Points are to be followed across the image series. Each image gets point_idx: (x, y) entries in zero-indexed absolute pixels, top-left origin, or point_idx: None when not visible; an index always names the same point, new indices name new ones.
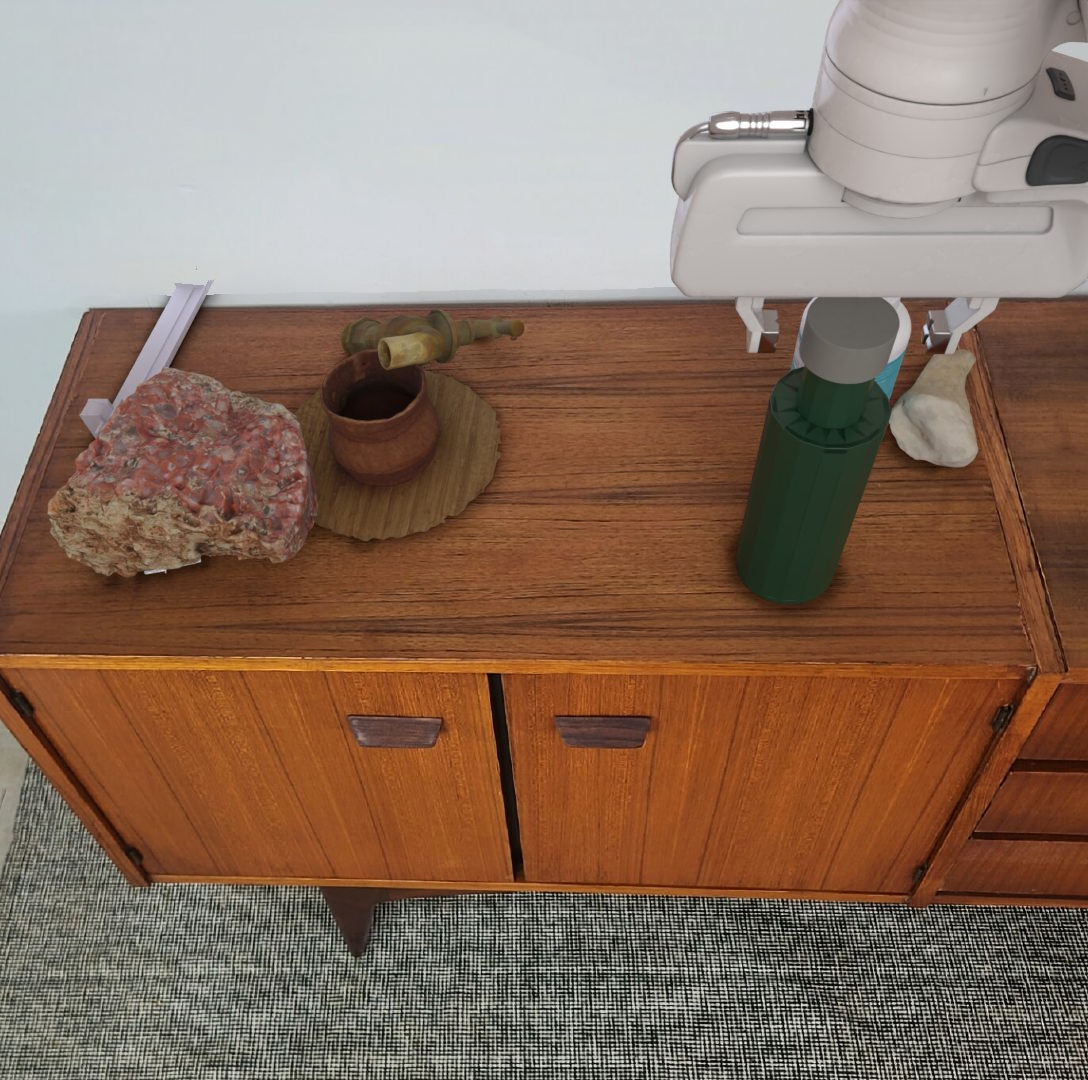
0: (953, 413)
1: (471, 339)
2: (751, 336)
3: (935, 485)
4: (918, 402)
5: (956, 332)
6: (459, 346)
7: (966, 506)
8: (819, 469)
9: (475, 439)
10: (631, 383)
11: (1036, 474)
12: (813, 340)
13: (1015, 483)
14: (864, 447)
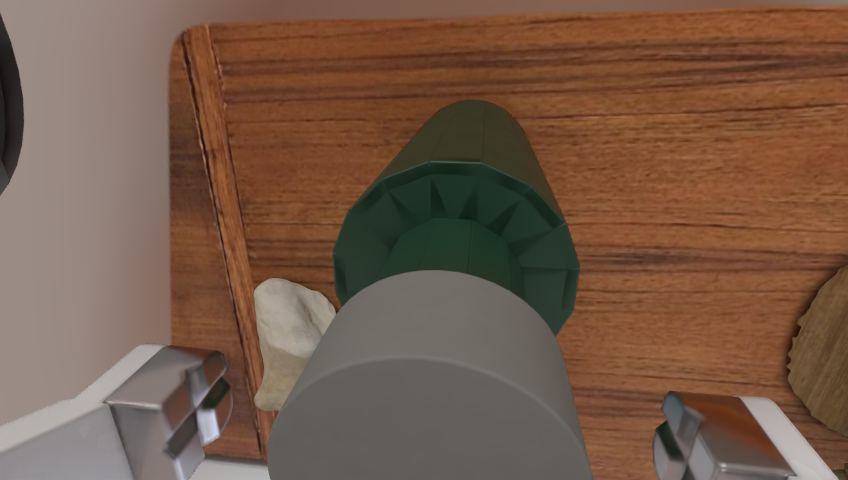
0: (273, 333)
1: None
2: (819, 459)
3: (301, 260)
4: (308, 348)
5: (89, 402)
6: (845, 469)
7: (272, 233)
8: (480, 147)
9: (826, 344)
10: (607, 404)
11: (206, 269)
12: (573, 419)
13: (225, 259)
14: (392, 171)
